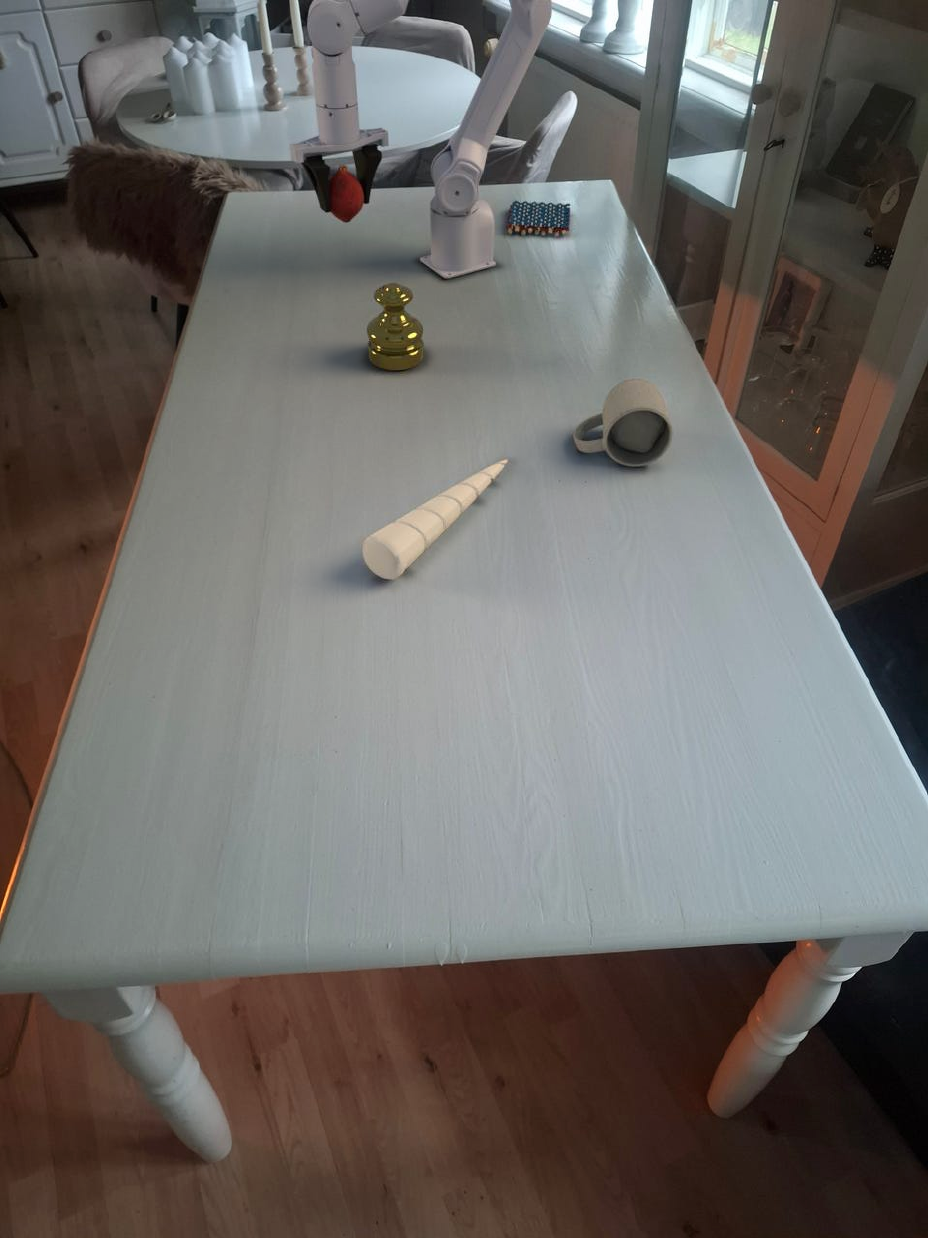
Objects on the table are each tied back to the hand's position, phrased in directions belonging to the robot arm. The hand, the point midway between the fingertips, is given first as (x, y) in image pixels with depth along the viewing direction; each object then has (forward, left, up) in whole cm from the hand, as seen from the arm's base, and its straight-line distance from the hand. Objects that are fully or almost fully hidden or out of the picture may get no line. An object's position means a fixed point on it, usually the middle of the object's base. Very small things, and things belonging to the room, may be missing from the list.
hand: (345, 205), depth 128 cm
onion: (0, 0, -3) cm, 3 cm away
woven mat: (-35, +1, -10) cm, 37 cm away
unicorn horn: (+21, +60, -10) cm, 64 cm away
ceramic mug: (-4, +59, -10) cm, 60 cm away
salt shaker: (+8, +27, -10) cm, 30 cm away
